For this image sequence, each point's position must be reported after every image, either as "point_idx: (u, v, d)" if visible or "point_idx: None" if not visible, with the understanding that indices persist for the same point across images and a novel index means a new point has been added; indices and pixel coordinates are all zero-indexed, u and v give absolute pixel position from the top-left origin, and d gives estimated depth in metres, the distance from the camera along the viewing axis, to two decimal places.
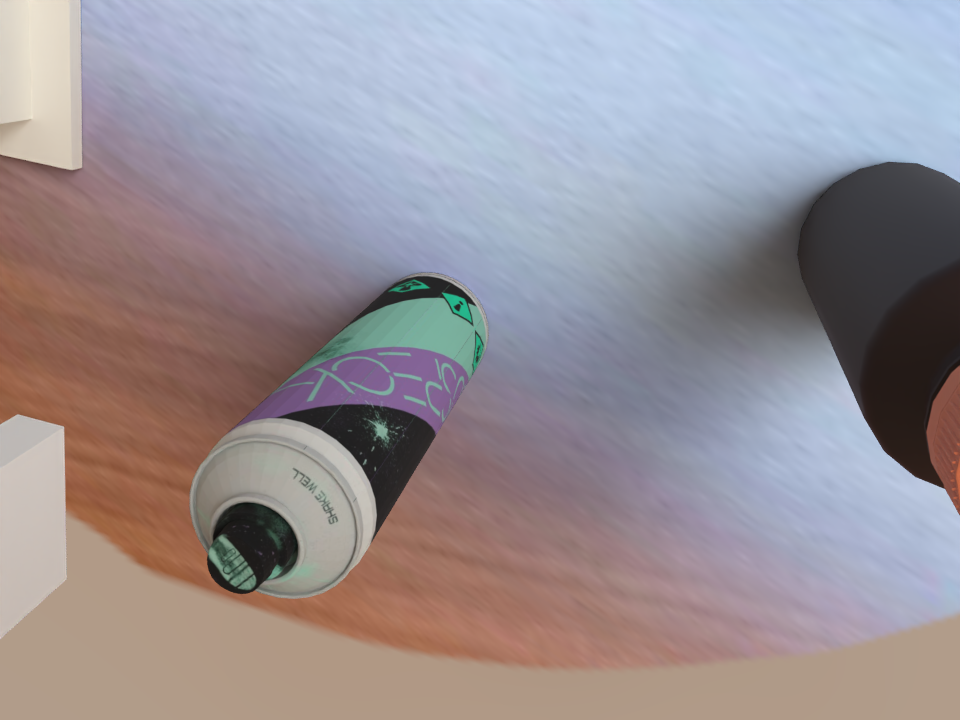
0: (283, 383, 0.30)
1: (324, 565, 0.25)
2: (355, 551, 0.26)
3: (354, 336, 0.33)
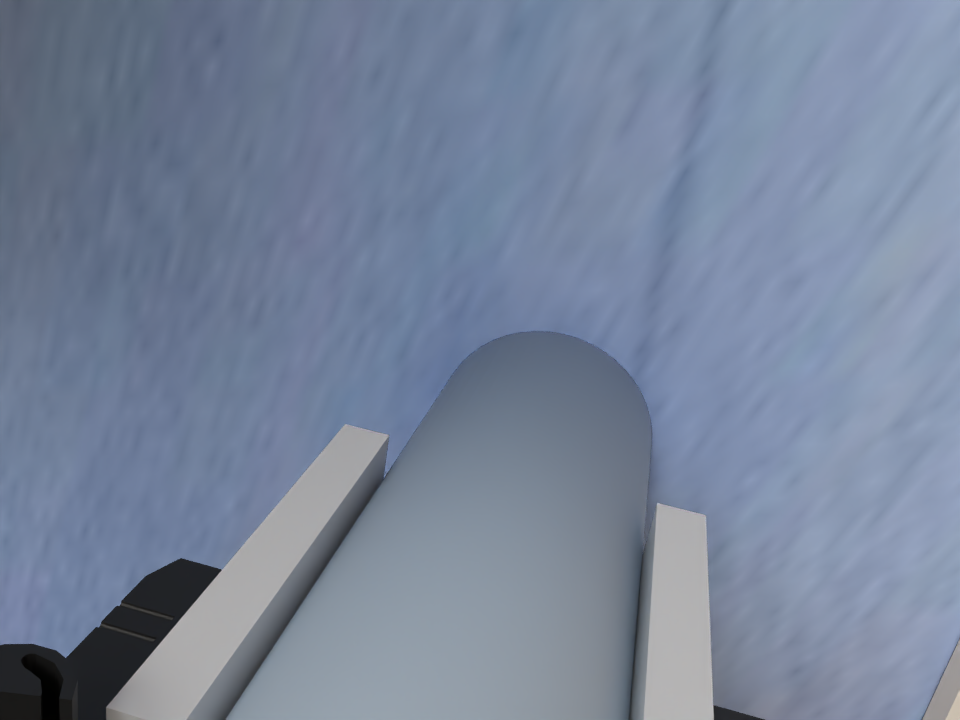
0: None
1: None
2: None
3: None
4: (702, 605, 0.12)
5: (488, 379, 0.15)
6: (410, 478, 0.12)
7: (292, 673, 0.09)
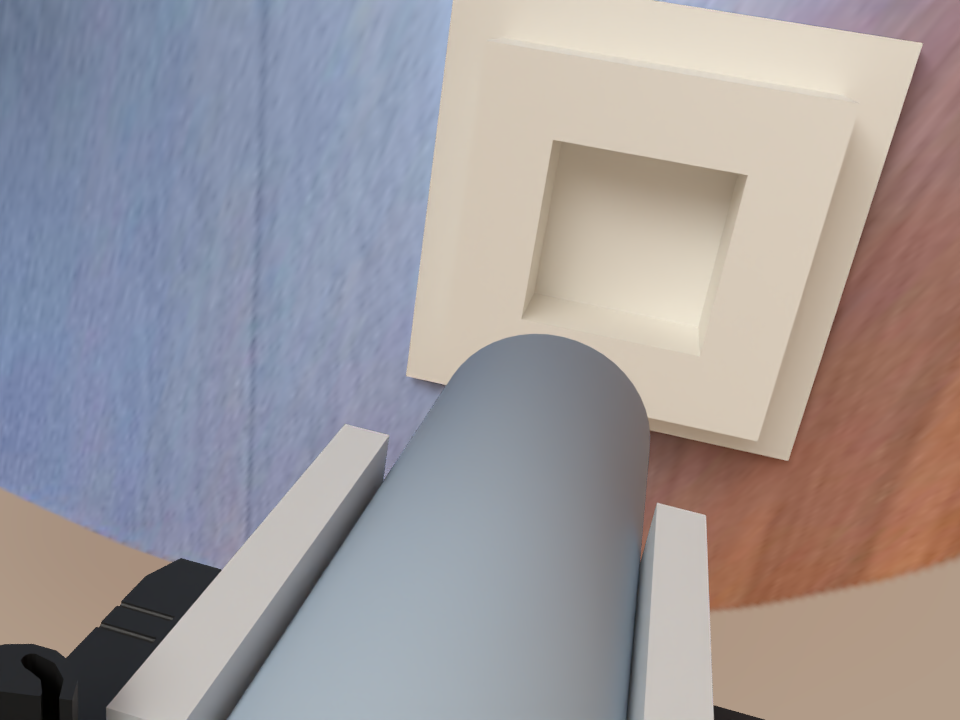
0: None
1: None
2: None
3: None
4: (702, 605, 0.12)
5: (488, 382, 0.16)
6: (409, 481, 0.13)
7: (292, 673, 0.09)
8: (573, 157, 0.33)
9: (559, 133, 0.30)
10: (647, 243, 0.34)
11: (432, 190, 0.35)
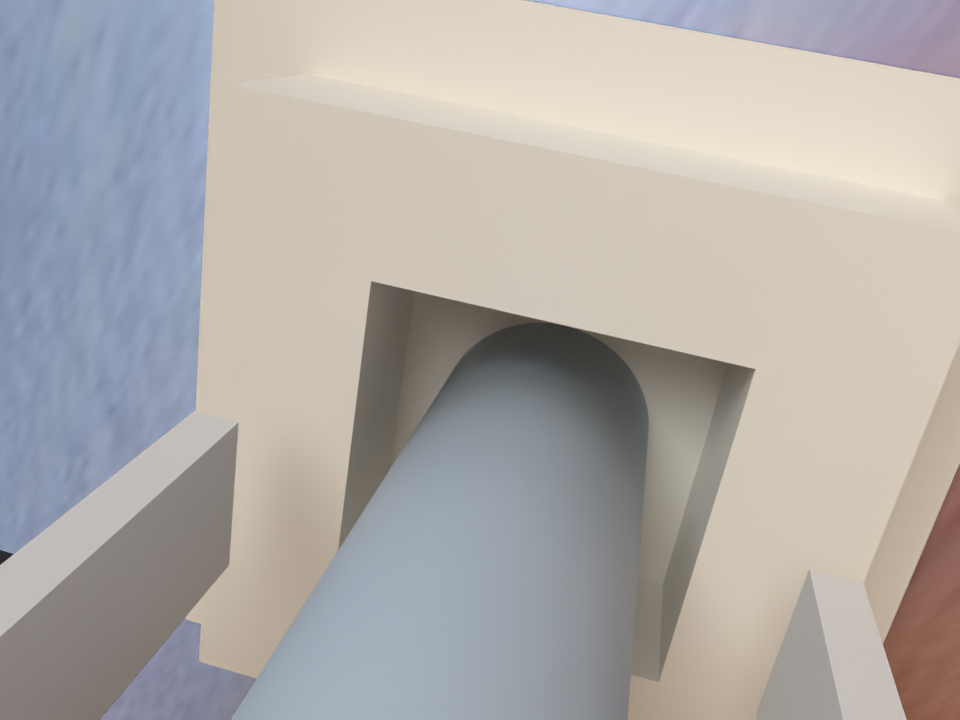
0: None
1: None
2: None
3: None
4: (891, 695, 0.10)
5: (492, 368, 0.16)
6: (421, 462, 0.13)
7: (317, 638, 0.09)
8: None
9: (382, 270, 0.15)
10: None
11: (204, 333, 0.20)
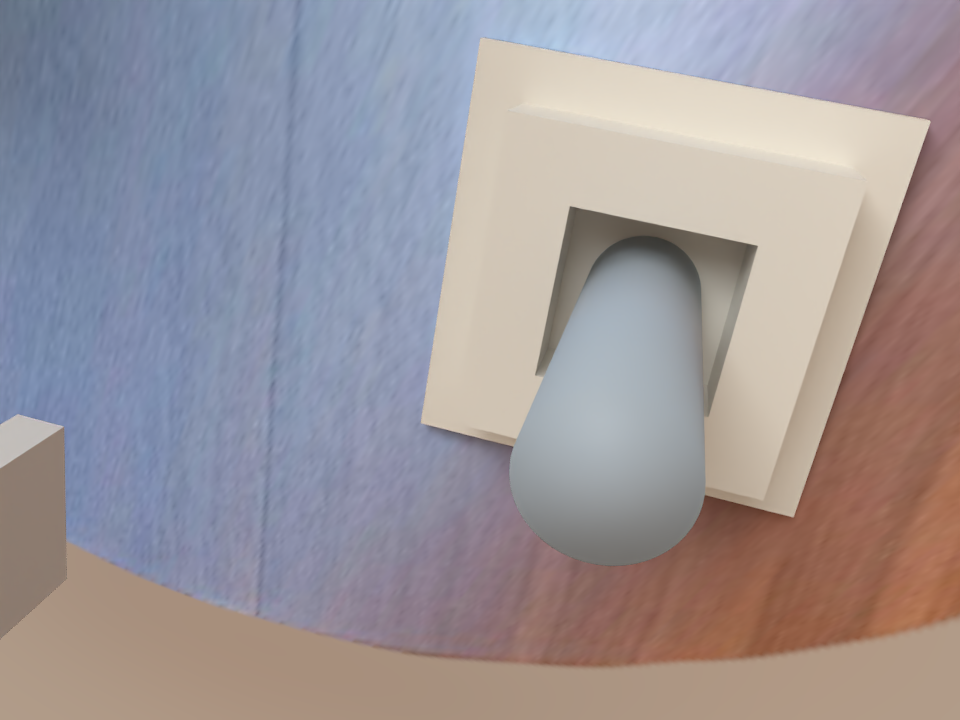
0: None
1: None
2: None
3: None
4: None
5: (625, 252, 0.32)
6: (604, 280, 0.29)
7: (590, 317, 0.25)
8: (589, 219, 0.34)
9: (575, 200, 0.31)
10: None
11: (451, 246, 0.36)
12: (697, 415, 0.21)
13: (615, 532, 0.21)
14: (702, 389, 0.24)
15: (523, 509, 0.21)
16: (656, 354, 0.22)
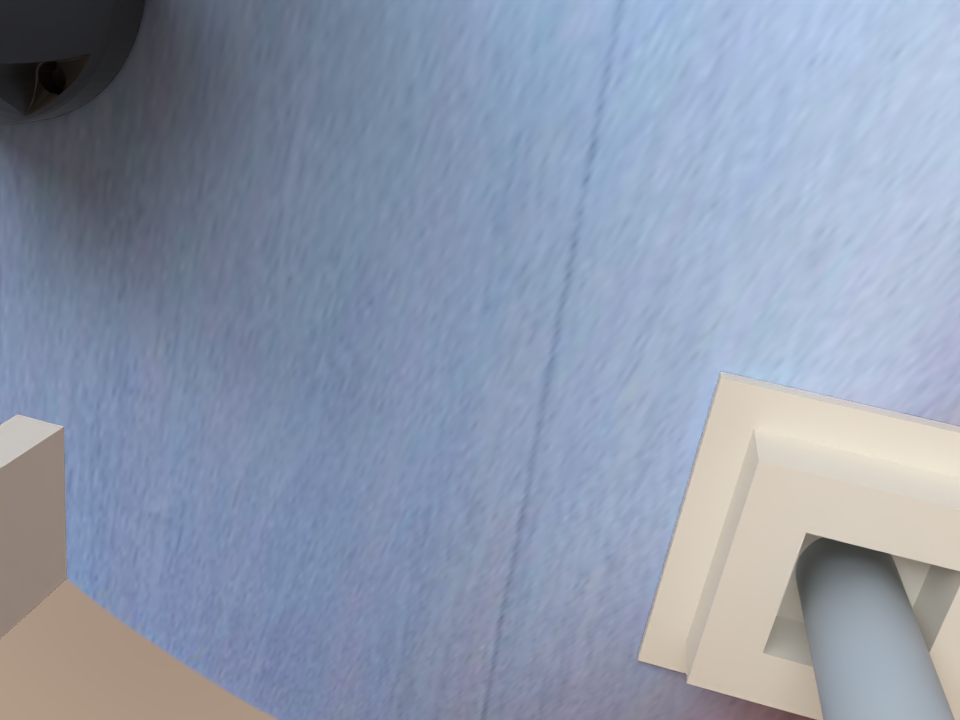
0: None
1: None
2: None
3: None
4: None
5: (846, 563, 0.39)
6: (849, 612, 0.36)
7: (867, 681, 0.32)
8: None
9: (812, 529, 0.38)
10: None
11: (679, 529, 0.43)
12: None
13: None
14: None
15: None
16: None
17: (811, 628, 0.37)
